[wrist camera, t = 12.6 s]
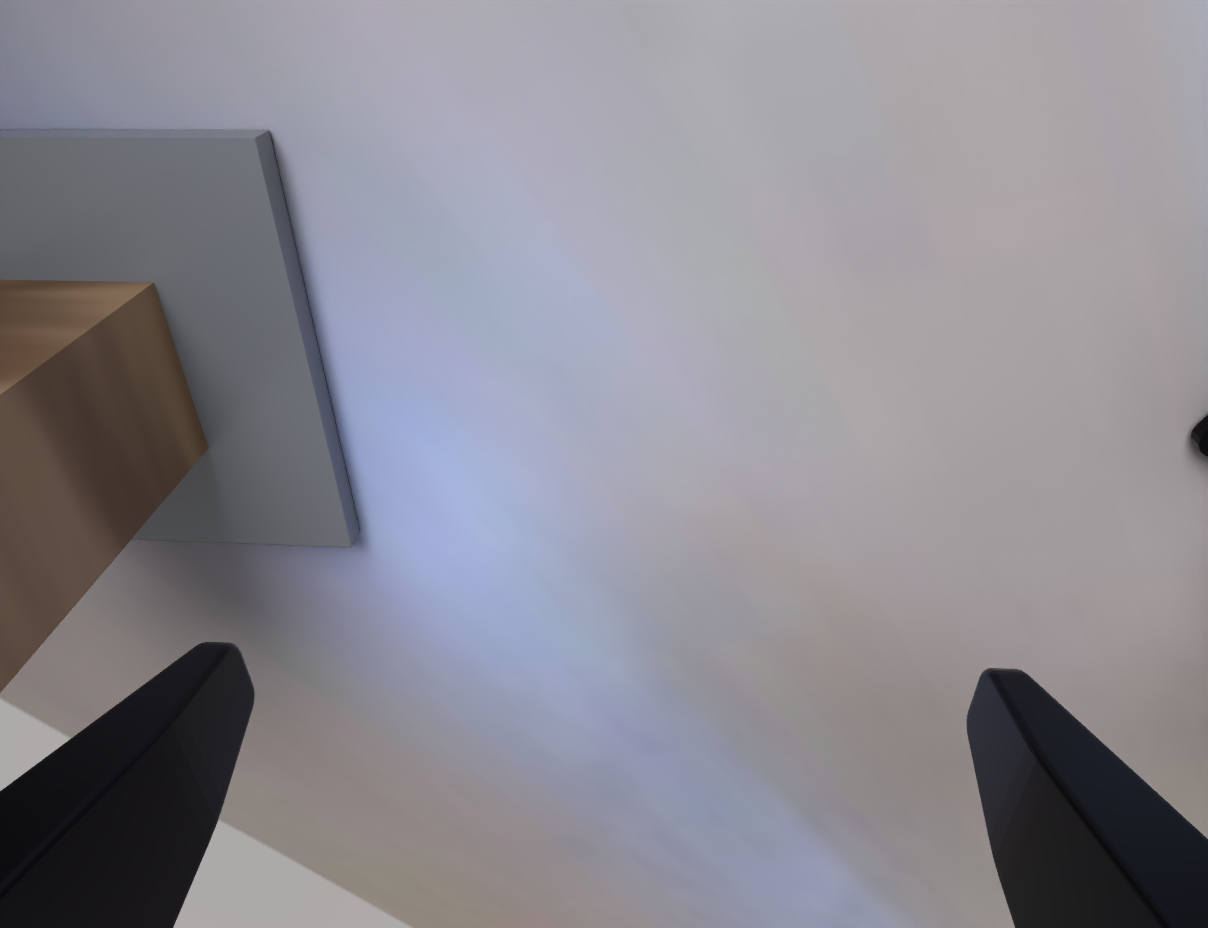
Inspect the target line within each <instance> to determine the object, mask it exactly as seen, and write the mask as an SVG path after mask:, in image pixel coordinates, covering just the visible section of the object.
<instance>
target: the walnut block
mask: <svg viewBox="0 0 1208 928" xmlns="http://www.w3.org/2000/svg"><path fill="white" fill-rule="evenodd" d="M208 449H209V447H208V444H207V441H206V438H205V435H204V432H203V429H202V426H201V423H200V420H199V417H198V414H197V411H196V408H195V405H194V402H193V399H192V396H191V393H190V390H189V387H188V384H187V381H186V378H185V375H184V372H183V369H182V366H181V362H180V359H179V356H178V353H177V350H176V347H175V344H174V341H173V338H172V335H171V332H170V329H169V326H168V323H167V320H166V317H165V314H164V311H163V308H162V305H161V302H160V299H159V296H158V293H157V290H156V287H155V284H154V282H115V281H53V280H0V693H1V691H2V690H3V689H4V688H5V687H6V686H7V684H8V683H9V682H10V681H11V680H12V679H13V677H14V676H15V675H16V674H17V673H18V671H19V670H20V669H21V668H22V667H23V666H24V664H25V663H26V662H27V661H28V660H29V659H30V657H31V656H32V655H33V654H34V653H35V652H36V650H37V649H38V648H39V647H40V646H41V644H42V643H43V642H44V641H45V640H46V639H47V637H48V636H49V635H50V634H51V633H52V632H53V630H54V629H55V628H56V627H57V626H58V625H59V623H60V622H61V621H62V620H63V619H64V618H65V616H66V615H67V614H68V613H69V612H70V610H71V609H72V608H73V607H74V606H75V605H76V603H77V602H78V601H79V600H80V599H81V598H82V596H83V595H84V594H85V593H86V592H87V591H88V589H89V588H90V587H91V586H92V585H93V583H94V582H95V581H96V580H97V579H98V578H99V576H100V575H101V574H102V573H103V572H104V571H105V569H106V568H107V567H108V566H109V565H110V564H111V562H112V561H113V560H114V559H115V558H116V556H117V555H118V554H119V553H120V552H121V551H122V549H123V548H124V547H125V546H126V545H127V544H128V542H129V541H130V540H131V539H132V538H133V537H134V535H135V534H136V533H137V532H138V531H139V530H140V528H141V527H142V526H143V525H144V524H145V522H146V521H147V520H148V519H149V518H150V517H151V515H152V514H153V513H154V512H155V511H156V510H157V508H158V507H159V506H160V505H161V504H162V503H163V501H164V500H165V499H166V498H167V497H168V495H169V494H170V493H171V492H172V491H173V490H174V488H175V487H176V486H177V485H178V484H179V483H180V481H181V480H182V479H183V478H184V477H185V476H186V474H187V473H188V472H189V471H190V470H191V468H192V467H193V466H194V465H195V464H196V463H197V461H198V460H199V459H200V458H201V457H202V456H203V454H204V453H205V452H206V451H207V450H208Z"/></svg>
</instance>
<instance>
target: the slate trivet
mask: <svg viewBox="0 0 1208 928" xmlns="http://www.w3.org/2000/svg"><path fill="white" fill-rule="evenodd" d="M0 280H53V281H115V282H154V284H155V287H156V290H157V293H158V296H159V299H160V302H161V305H162V308H163V311H164V314H165V317H166V320H167V323H168V326H169V329H170V332H171V335H172V338H173V341H174V344H175V347H176V350H177V353H178V356H179V359H180V362H181V366H182V369H183V372H184V375H185V378H186V381H187V384H188V387H189V390H190V393H191V396H192V399H193V402H194V405H195V408H196V411H197V414H198V417H199V420H200V423H201V426H202V429H203V432H204V435H205V438H206V441H207V444H208V447H209V449H208V450H207V451H206V452H205V453H204V454H203V456H202V457H201V458H200V459H199V460H198V461H197V463H196V464H195V465H194V466H193V467H192V468H191V470H190V471H189V472H188V473H187V474H186V476H185V477H184V478H183V479H182V480H181V481H180V483H179V484H178V485H177V486H176V487H175V488H174V490H173V491H172V492H171V493H170V494H169V495H168V497H167V498H166V499H165V500H164V501H163V503H162V504H161V505H160V506H159V507H158V508H157V510H156V511H155V512H154V513H153V514H152V515H151V517H150V518H149V519H148V520H147V521H146V522H145V524H144V525H143V526H142V527H141V528H140V530H139V531H138V532H137V533H136V534H135V535H134V537H133V538H132V539H138V540H165V541H192V542H219V543H246V544H274V545H301V546H328V547H352V546H353V544H354V542H355V540H356V538H357V536H358V534H359V532H360V530H359V526H358V521H357V517H356V512H355V508H354V503H353V499H352V495H351V490H350V486H349V481H348V477H347V472H346V468H345V464H344V459H343V455H342V450H341V446H340V442H339V437H338V433H337V428H336V424H335V419H334V415H333V411H332V406H331V402H330V397H329V393H328V388H327V384H326V380H325V375H324V371H323V366H322V362H321V358H320V353H319V349H318V344H317V340H316V335H315V331H314V327H313V322H312V318H311V313H310V309H309V304H308V300H307V296H306V291H305V287H304V282H303V278H302V273H301V269H300V265H299V260H298V256H297V251H296V247H295V243H294V238H293V234H292V229H291V225H290V220H289V216H288V212H287V207H286V203H285V198H284V194H283V189H282V185H281V181H280V176H279V172H278V167H277V163H276V158H275V154H274V150H273V145H272V141H271V136H270V132H269V130H80V129H0Z"/></svg>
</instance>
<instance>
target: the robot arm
mask: <svg viewBox="0 0 1208 928" xmlns="http://www.w3.org/2000/svg"><path fill="white" fill-rule="evenodd" d="M1191 440H1192V443H1193V444H1194V445H1195V446H1196V447H1197V448H1198V449H1199V450H1200V451H1201V452H1202V453H1203V454H1204V455H1206V456H1208V415H1207V416H1206V417H1205V418H1204V419H1203V420H1202V421H1200V422H1199V423H1198V424H1197V425H1196V427H1195V428H1194V429H1193V431H1192V434H1191ZM254 694H255V693H254V687H253V683H252V681H251V678H250V675H249V673H248V670H247V667H246V665H245V662H244V659H243V657H242V654H241V652H240V650H239V648H238V647H237V646H236V645H235V644H232V643H220V642H205V643H201V644H199V645H197V646H195V647H194V648H193V649H191V650H190V651H189V652H187V653H186V654H184V655H183V656H182V657H180V658H179V659H178V660H176V661H175V662H174V663H172V664H171V665H170V666H168V667H167V668H166V669H164V670H163V671H162V672H160V673H159V674H158V675H156V676H155V677H154V678H152V679H151V680H149V681H148V682H147V683H145V684H144V685H143V686H141V687H140V688H139V689H137V690H136V691H135V692H133V693H132V694H131V695H129V696H128V697H127V698H125V699H124V700H123V701H121V702H120V703H119V704H117V705H116V706H114V707H113V708H112V709H110V710H109V711H108V712H106V713H105V714H104V715H102V716H101V717H100V718H98V719H97V720H96V721H94V722H93V723H92V724H90V725H89V726H88V727H86V728H85V729H84V730H82V731H81V732H79V733H78V734H77V735H75V736H74V737H73V738H71V739H70V740H69V741H68V742H66V743H65V744H63V745H62V746H61V747H59V748H58V749H57V750H55V751H54V752H53V753H51V754H50V755H49V756H47V757H46V758H44V759H43V760H42V761H41V762H39V763H38V764H36V765H35V766H34V767H32V768H31V769H30V770H28V771H27V772H26V773H24V774H23V775H22V776H20V777H19V778H18V779H16V780H15V781H13V782H12V783H11V784H10V785H8V786H7V787H6V788H4V789H3V790H1V791H0V928H173V927H174V924H175V922H176V920H177V917H178V915H179V912H180V910H181V908H182V905H183V903H184V901H185V898H186V896H187V894H188V891H189V889H190V886H191V884H192V882H193V880H194V877H195V875H196V872H197V870H198V868H199V865H200V863H201V861H202V858H203V856H204V854H205V851H206V849H207V847H208V844H209V842H210V839H211V836H212V834H213V832H214V829H215V827H216V824H217V822H218V819H219V816H220V813H221V810H222V807H223V804H224V800H225V797H226V794H227V791H228V787H229V784H230V781H231V778H232V774H233V771H234V768H235V764H236V761H237V758H238V755H239V751H240V748H241V745H242V741H243V738H244V735H245V732H246V728H247V725H248V722H249V718H250V715H251V712H252V709H253V705H254ZM967 734H968V739H969V744H970V749H971V754H972V758H973V763H974V768H975V773H976V778H977V783H978V788H979V793H980V797H981V802H982V807H983V812H984V817H985V822H986V827H987V832H988V837H989V841H990V845H991V850H992V854H993V858H994V862H995V865H996V869H997V872H998V876H999V879H1000V882H1001V885H1002V888H1003V891H1004V895H1005V898H1006V901H1007V904H1008V907H1009V910H1010V913H1011V916H1012V919H1013V922H1014V925H1015V928H1208V839H1207V838H1206V837H1205V836H1204V835H1203V834H1202V833H1200V832H1199V831H1198V830H1197V829H1196V828H1195V827H1194V826H1193V825H1192V824H1191V823H1190V822H1188V821H1187V820H1186V819H1185V818H1184V817H1183V816H1182V815H1181V814H1180V813H1179V812H1178V811H1176V810H1175V809H1174V808H1173V807H1172V806H1171V805H1170V804H1169V803H1168V802H1167V801H1165V800H1164V799H1163V798H1162V797H1161V796H1160V795H1159V794H1158V793H1157V792H1156V791H1155V790H1153V789H1152V788H1151V787H1150V786H1149V785H1148V784H1147V783H1146V782H1145V781H1144V780H1143V779H1141V778H1140V777H1139V776H1138V775H1137V774H1136V773H1135V772H1134V771H1133V770H1132V769H1131V768H1129V767H1128V766H1127V765H1126V764H1125V763H1124V762H1123V761H1122V760H1121V759H1120V758H1118V757H1117V756H1116V755H1115V754H1114V753H1113V752H1112V751H1111V750H1110V749H1109V748H1108V747H1106V746H1105V745H1104V744H1103V743H1102V742H1101V741H1100V740H1099V739H1098V738H1097V737H1096V736H1094V735H1093V734H1092V733H1091V732H1090V731H1089V730H1088V729H1087V728H1086V727H1085V726H1084V725H1082V724H1081V723H1080V722H1079V721H1078V720H1077V719H1076V718H1075V717H1074V716H1073V715H1071V714H1070V713H1069V712H1068V711H1067V710H1066V709H1065V708H1064V707H1063V706H1062V705H1061V704H1059V703H1058V702H1057V701H1056V700H1055V699H1054V698H1053V697H1052V696H1051V695H1050V694H1049V693H1047V692H1046V691H1045V690H1044V689H1043V688H1042V687H1041V686H1040V685H1039V684H1038V683H1037V682H1035V681H1034V680H1033V679H1032V678H1031V677H1030V676H1029V675H1028V674H1026V673H1025V672H1023V671H1021V670H1018V669H1000V668H989V669H986V670H984V671H983V673H982V674H981V676H980V678H979V681H978V684H977V687H976V690H975V693H974V696H973V699H972V702H971V705H970V708H969V711H968V715H967Z"/></svg>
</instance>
